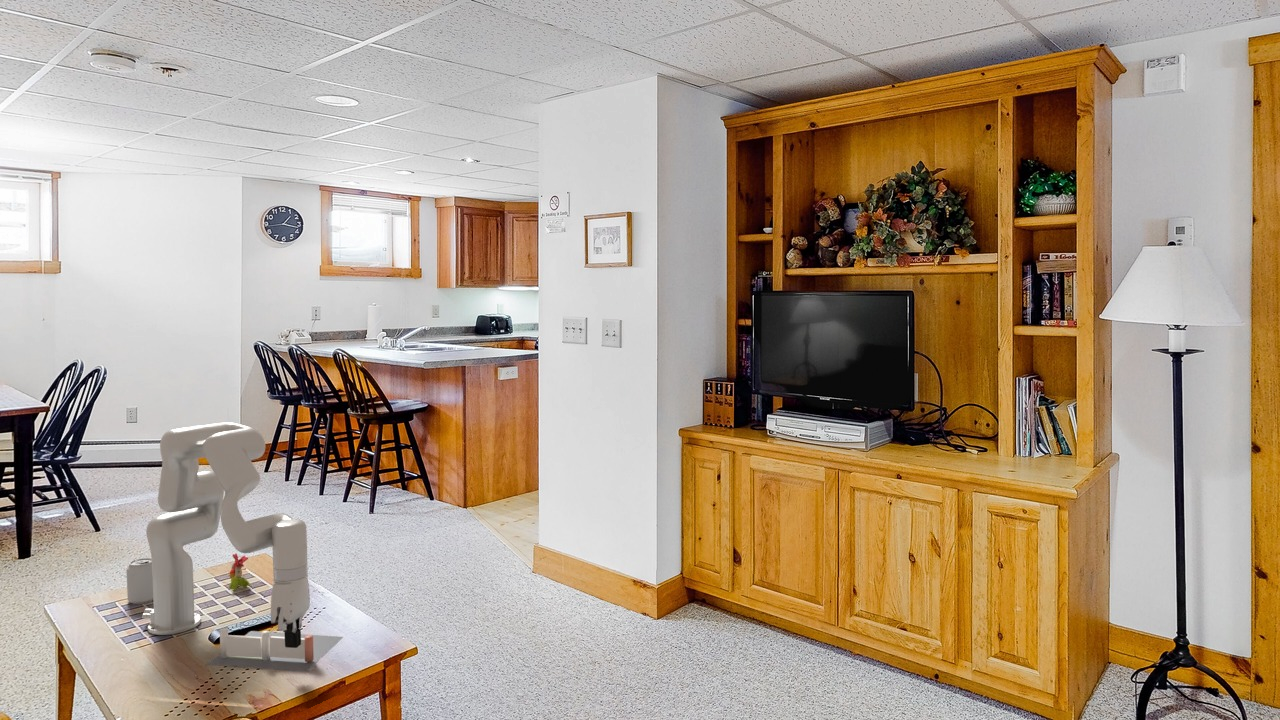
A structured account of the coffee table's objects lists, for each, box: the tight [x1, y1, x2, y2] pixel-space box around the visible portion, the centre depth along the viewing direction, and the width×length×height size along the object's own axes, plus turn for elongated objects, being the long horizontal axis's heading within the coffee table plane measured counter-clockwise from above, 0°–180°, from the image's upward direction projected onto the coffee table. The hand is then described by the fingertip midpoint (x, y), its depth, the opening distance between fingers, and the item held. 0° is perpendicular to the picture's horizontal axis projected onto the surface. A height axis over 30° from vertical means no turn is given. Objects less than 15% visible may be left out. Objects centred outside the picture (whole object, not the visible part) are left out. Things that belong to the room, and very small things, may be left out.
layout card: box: [205, 630, 344, 672], centre depth 200 cm, size 26×19×1 cm
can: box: [126, 557, 153, 605], centre depth 231 cm, size 8×8×12 cm
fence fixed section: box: [219, 627, 271, 661], centre depth 195 cm, size 13×2×7 cm, turn 85°
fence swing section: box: [270, 634, 314, 662], centre depth 194 cm, size 11×2×6 cm, turn 85°
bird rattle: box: [228, 553, 252, 592], centre depth 242 cm, size 6×11×9 cm
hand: (293, 646), depth 188 cm, fingers closed
